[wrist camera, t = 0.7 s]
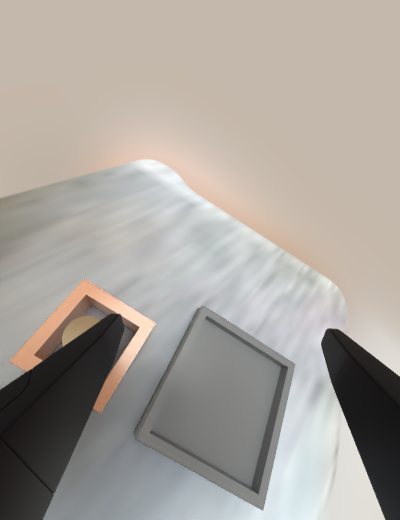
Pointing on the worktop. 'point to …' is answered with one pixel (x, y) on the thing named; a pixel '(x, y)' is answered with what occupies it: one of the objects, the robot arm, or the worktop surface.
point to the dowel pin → (77, 328)
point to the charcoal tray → (221, 407)
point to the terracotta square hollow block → (75, 308)
